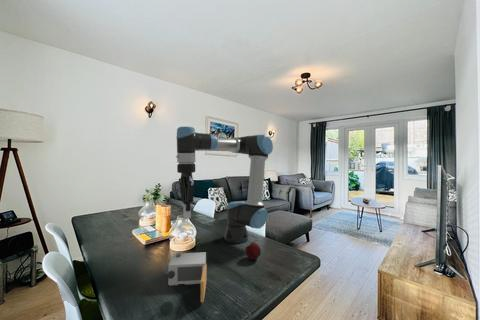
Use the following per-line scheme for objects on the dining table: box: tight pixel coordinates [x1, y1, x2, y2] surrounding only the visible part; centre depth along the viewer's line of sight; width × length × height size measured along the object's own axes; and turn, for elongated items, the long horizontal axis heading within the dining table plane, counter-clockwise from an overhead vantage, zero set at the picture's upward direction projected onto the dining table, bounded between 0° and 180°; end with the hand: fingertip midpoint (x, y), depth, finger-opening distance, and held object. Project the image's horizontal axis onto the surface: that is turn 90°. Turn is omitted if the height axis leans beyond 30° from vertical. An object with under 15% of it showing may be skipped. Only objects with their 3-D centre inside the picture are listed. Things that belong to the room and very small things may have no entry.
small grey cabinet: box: [167, 251, 207, 286], centre depth 86 cm, size 14×11×9 cm
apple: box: [245, 241, 262, 261], centre depth 103 cm, size 7×8×8 cm
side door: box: [200, 263, 208, 303], centre depth 76 cm, size 12×1×7 cm, turn 5°
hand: (187, 218), depth 88 cm, fingers closed
